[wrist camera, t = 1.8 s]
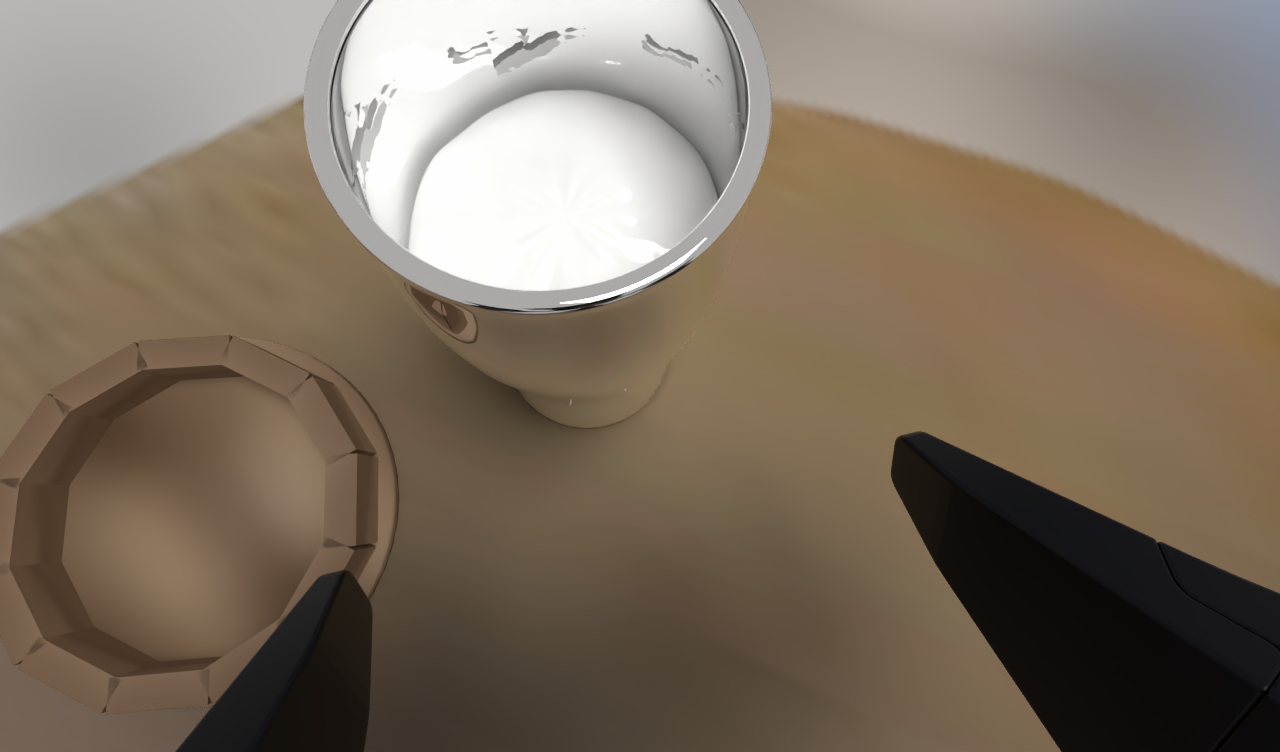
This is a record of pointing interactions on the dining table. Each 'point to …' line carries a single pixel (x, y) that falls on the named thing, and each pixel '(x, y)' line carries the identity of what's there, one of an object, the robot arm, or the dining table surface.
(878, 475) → the dining table surface
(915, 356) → the dining table surface
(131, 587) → the faceted bowl
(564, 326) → the beer glass
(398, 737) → the dining table surface
